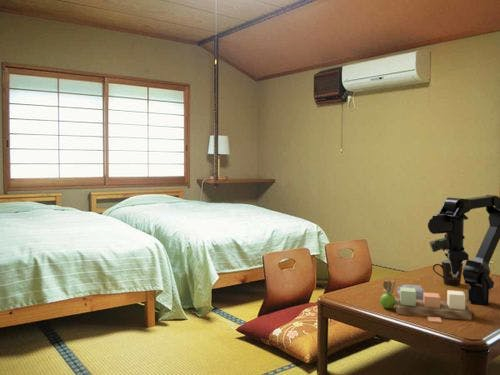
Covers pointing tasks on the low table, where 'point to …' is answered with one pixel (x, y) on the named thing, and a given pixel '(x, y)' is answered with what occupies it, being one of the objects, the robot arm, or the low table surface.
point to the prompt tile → (434, 319)
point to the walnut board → (433, 310)
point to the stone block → (417, 288)
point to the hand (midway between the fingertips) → (454, 274)
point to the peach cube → (431, 300)
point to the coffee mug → (450, 273)
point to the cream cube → (456, 299)
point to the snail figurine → (388, 294)
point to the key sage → (407, 296)
